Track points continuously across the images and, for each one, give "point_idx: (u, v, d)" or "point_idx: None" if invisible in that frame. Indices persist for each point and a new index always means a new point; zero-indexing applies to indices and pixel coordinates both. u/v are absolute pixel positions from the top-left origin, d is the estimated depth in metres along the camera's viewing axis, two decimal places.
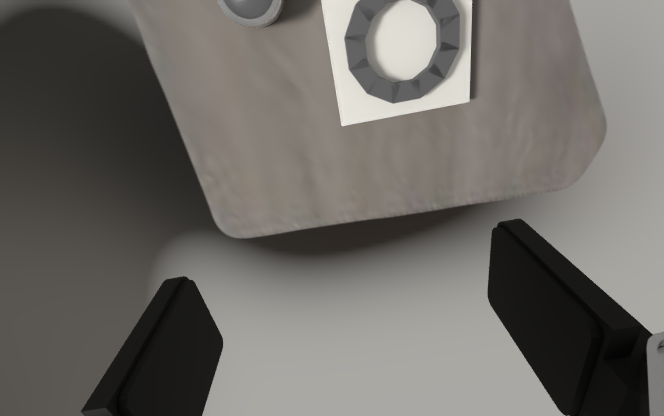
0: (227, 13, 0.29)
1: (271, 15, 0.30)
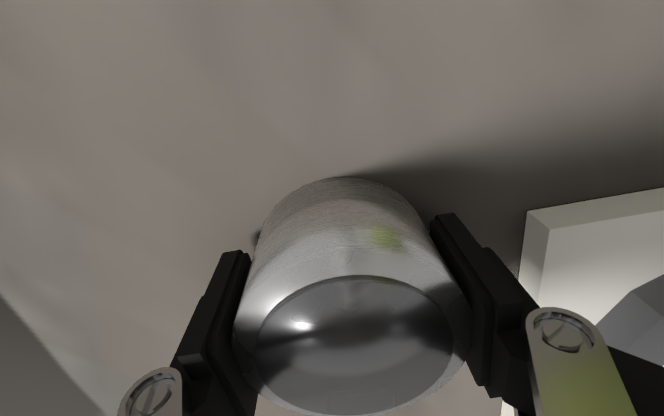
0: (277, 399, 0.09)
1: (421, 396, 0.09)
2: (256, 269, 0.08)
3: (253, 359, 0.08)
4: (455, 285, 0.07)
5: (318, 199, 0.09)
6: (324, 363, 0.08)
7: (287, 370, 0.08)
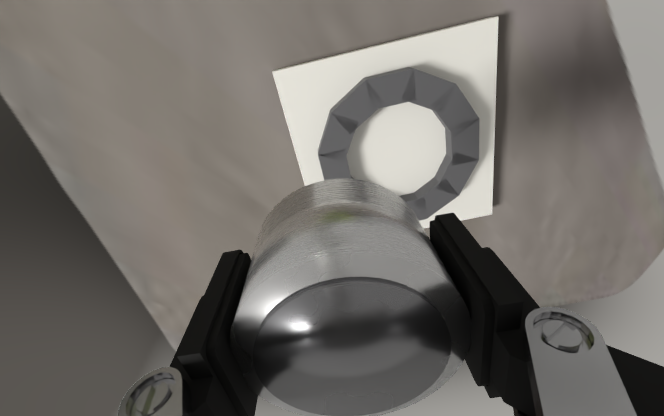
0: (275, 400, 0.09)
1: (419, 397, 0.09)
2: (255, 271, 0.08)
3: (251, 360, 0.08)
4: (453, 287, 0.07)
5: (316, 200, 0.09)
6: (322, 364, 0.08)
7: (285, 371, 0.08)
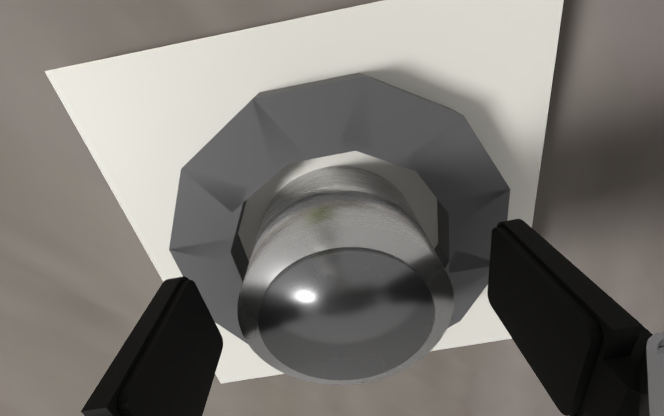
0: (278, 365, 0.10)
1: (408, 363, 0.10)
2: (260, 245, 0.09)
3: (257, 326, 0.09)
4: (435, 257, 0.08)
5: (315, 185, 0.10)
6: (320, 329, 0.09)
7: (287, 335, 0.09)
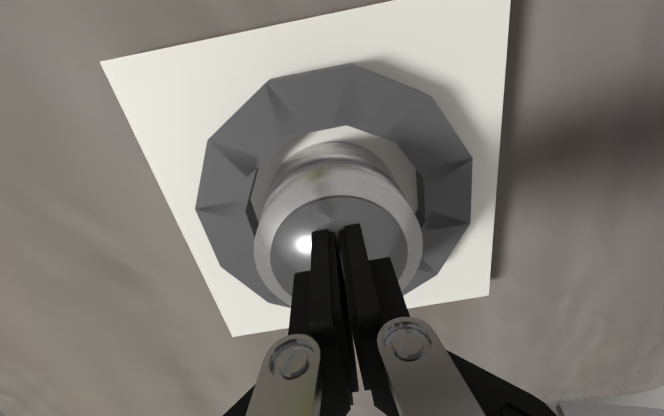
0: (283, 297, 0.12)
1: None
2: (272, 197, 0.11)
3: (268, 261, 0.11)
4: (407, 205, 0.10)
5: (315, 153, 0.12)
6: None
7: (292, 268, 0.11)
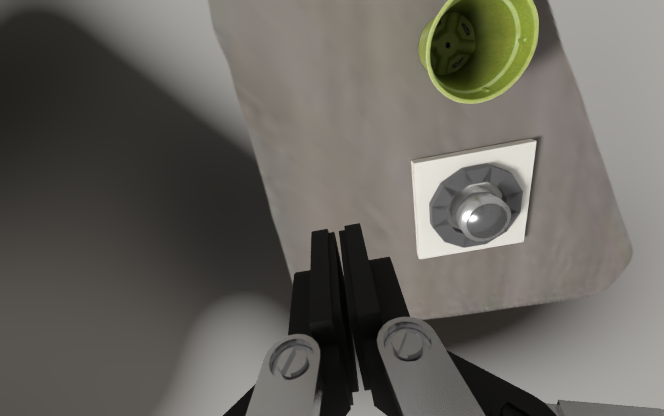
0: (466, 234, 0.40)
1: (497, 235, 0.40)
2: (467, 204, 0.39)
3: (465, 222, 0.39)
4: (508, 206, 0.38)
5: (475, 190, 0.40)
6: (481, 222, 0.39)
7: (473, 224, 0.39)
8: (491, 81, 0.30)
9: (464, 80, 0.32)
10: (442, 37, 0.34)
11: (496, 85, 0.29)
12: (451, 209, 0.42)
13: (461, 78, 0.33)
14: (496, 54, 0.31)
